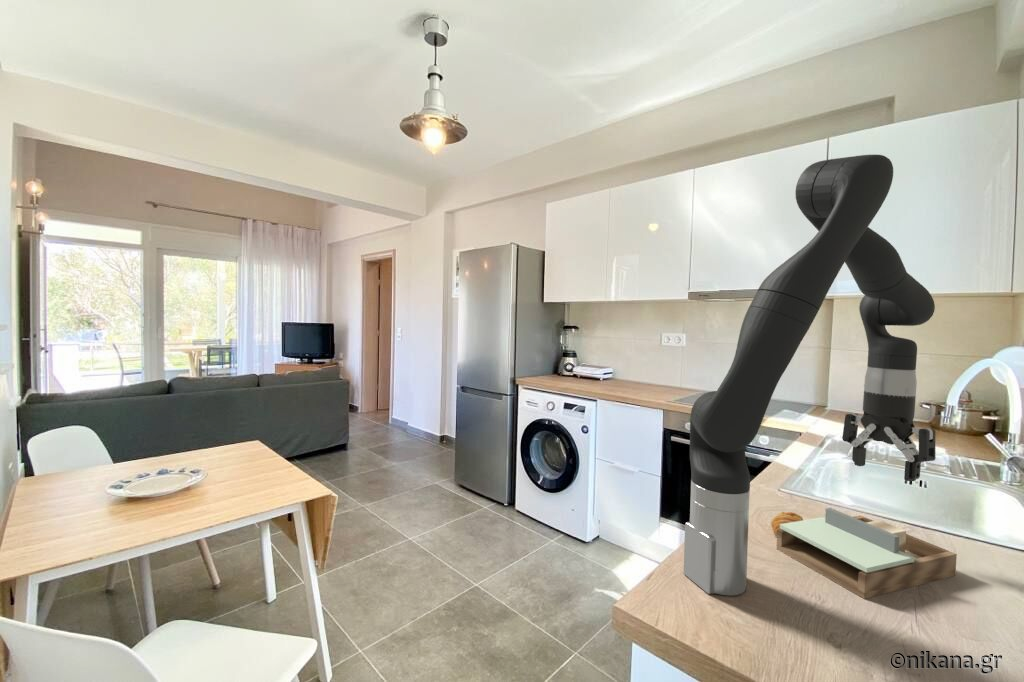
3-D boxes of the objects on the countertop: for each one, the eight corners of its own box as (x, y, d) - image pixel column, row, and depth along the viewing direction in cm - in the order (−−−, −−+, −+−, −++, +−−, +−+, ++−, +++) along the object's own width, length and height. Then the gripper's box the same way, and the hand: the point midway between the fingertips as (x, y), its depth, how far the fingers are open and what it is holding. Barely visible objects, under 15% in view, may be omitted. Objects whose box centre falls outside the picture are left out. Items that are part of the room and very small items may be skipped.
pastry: (805, 549, 84) (805, 530, 84) (766, 538, 89) (767, 520, 88) (809, 532, 91) (809, 515, 91) (773, 522, 96) (774, 506, 96)
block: (904, 555, 80) (906, 530, 80) (889, 559, 78) (890, 533, 78) (878, 544, 84) (879, 520, 84) (862, 547, 83) (864, 522, 83)
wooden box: (864, 598, 68) (865, 575, 68) (776, 548, 84) (777, 529, 84) (955, 575, 76) (956, 554, 75) (859, 533, 91) (860, 515, 91)
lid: (866, 572, 69) (867, 551, 68) (779, 528, 84) (780, 510, 83) (914, 561, 72) (915, 541, 72) (822, 520, 87) (823, 503, 87)
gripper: (948, 397, 75) (942, 484, 76) (861, 385, 89) (856, 459, 89) (922, 398, 73) (915, 488, 73) (837, 386, 86) (832, 462, 87)
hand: (883, 472), depth 81 cm, fingers open, 8 cm apart
